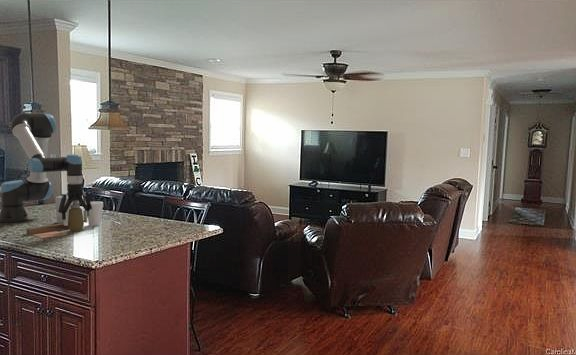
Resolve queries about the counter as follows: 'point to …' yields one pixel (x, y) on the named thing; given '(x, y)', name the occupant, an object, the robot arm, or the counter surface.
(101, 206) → the foam cup
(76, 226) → the squeeze bottle
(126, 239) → the counter surface
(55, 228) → the rail
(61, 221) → the skincare box
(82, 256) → the counter surface
